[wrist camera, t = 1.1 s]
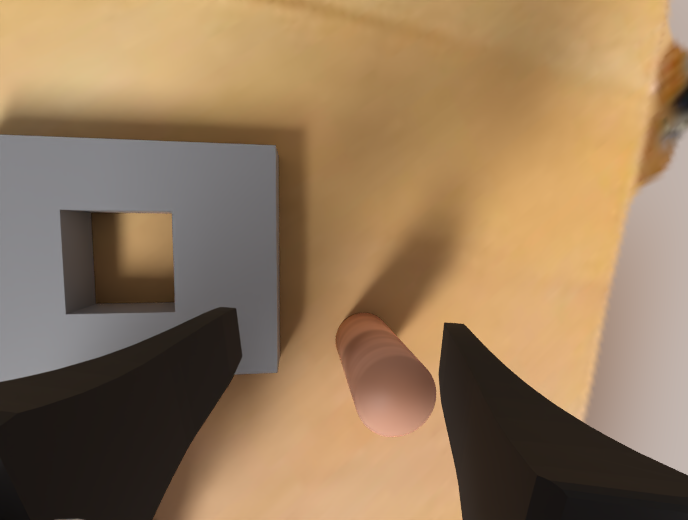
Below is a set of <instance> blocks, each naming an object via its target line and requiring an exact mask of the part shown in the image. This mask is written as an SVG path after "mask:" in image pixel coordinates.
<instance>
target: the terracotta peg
mask: <svg viewBox="0 0 688 520" xmlns="http://www.w3.org/2000/svg"><path fill="white" fill-rule="evenodd" d="M336 347H337V350H338V353H339V356H340V360H341V363H342V366H343V369H344V372H345V375H346V378H347V382H348V385H349V388H350V391H351V394H352V397H353V400H354V404H355V407H356V410H357V413H358V415H359V417H360V419H361V421H362V422H363V424H364V425H365V426H366V427H367V428H369V429H370V430H371V431H373V432H375V433H377V434H379V435H382V436H387V437H399V436H403V435H407V434H409V433H411V432H413V431H415V430H417V429H418V428H419V427H421V426H422V425H423V424H424V423H425V422H426V420H427V419H428V418H429V416H430V415H431V413H432V411H433V408H434V405H435V401H436V387H435V383H434V380H433V378H432V375H431V374H430V372H429V371H428V370H427V369H426V367H425V366H424V365H423V364H422V363H421V362H420V361H419V360H418V359H417V358H416V357H415V356H414V354H413V353H412V352H411V351H410V350H409V349H408V348H407V347H406V346H405V345H404V344H403V342H402V341H401V340H400V339H399V338H398V337H397V336H396V335H395V334H394V333H393V332H392V331H391V329H390V328H389V327H388V326H387V325H386V324H385V323H384V322H383V321H382V320H381V319H380V318H379V317H377V316H375V315H373V314H370V313H357V314H354V315H352V316H350V317H348V318H347V319H346V320H344V321H343V323H342V324H341V325H340V327H339V329H338V331H337V334H336Z"/></svg>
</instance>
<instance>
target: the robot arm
mask: <svg viewBox="0 0 688 520" xmlns="http://www.w3.org/2000/svg"><path fill="white" fill-rule="evenodd" d="M241 359H242V349H241V341H240V333H239V325H238V318H237V310H236V308H229V307H218V308H215V309H213V310H210V311H208V312H205V313H203V314H201V315H199V316H197V317H195V318H192V319H190V320H188V321H186V322H184V323H182V324H180V325H177V326H175V327H173V328H171V329H169V330H167V331H164V332H162V333H160V334H157V335H155V336H153V337H151V338H148V339H146V340H144V341H141V342H139V343H137V344H134V345H132V346H129V347H126V348H124V349H121V350H118V351H115V352H113V353H110V354H107V355H104V356H101V357H98V358H95V359H91V360H88V361H84V362H81V363H78V364H74V365H71V366H67V367H64V368H60V369H56V370H52V371H48V372H44V373H40V374H36V375H31V376H27V377H22V378H17V379H13V380H7V381H2V382H0V520H152V519H153V517H154V515H155V512H156V510H157V508H158V506H159V504H160V502H161V500H162V498H163V496H164V494H165V492H166V490H167V488H168V486H169V484H170V482H171V480H172V477H173V476H174V474H175V472H176V470H177V468H178V466H179V464H180V462H181V460H182V458H183V456H184V455H185V453H186V451H187V449H188V447H189V445H190V444H191V442H192V440H193V439H194V437H195V435H196V434H197V432H198V431H199V429H200V428H201V426H202V425H203V423H204V422H205V420H206V419H207V417H208V416H209V414H210V413H211V411H212V410H213V408H214V407H215V405H216V404H217V402H218V401H219V399H220V397H221V396H222V394H223V393H224V391H225V390H226V388H227V387H228V385H229V383H230V382H231V380H232V378H233V376H234V374H235V372H236V370H237V368H238V365H239V363H240V361H241ZM439 385H440V396H441V404H442V409H443V413H444V418H445V423H446V427H447V432H448V436H449V441H450V445H451V450H452V454H453V459H454V463H455V468H456V473H457V479H458V485H459V493H460V501H461V510H462V518H463V520H688V475H686V474H684V473H681V472H679V471H677V470H675V469H673V468H671V467H668V466H666V465H664V464H662V463H660V462H658V461H656V460H653V459H651V458H649V457H647V456H645V455H642V454H640V453H638V452H636V451H634V450H632V449H631V448H629V447H627V446H625V445H623V444H621V443H619V442H617V441H615V440H614V439H612V438H610V437H608V436H606V435H604V434H602V433H601V432H599V431H597V430H595V429H594V428H592V427H590V426H588V425H587V424H585V423H583V422H582V421H580V420H579V419H577V418H575V417H574V416H572V415H571V414H569V413H567V412H566V411H564V410H563V409H561V408H560V407H558V406H557V405H555V404H554V403H552V402H551V401H549V400H548V399H547V398H545V397H544V396H542V395H541V394H540V393H538V392H537V391H536V390H534V389H533V388H532V387H530V386H529V385H528V384H526V383H525V382H524V381H523V380H521V379H520V378H519V377H518V376H517V375H516V374H514V373H513V372H512V371H511V370H510V369H509V368H507V367H506V366H505V365H504V364H503V363H502V362H501V361H500V360H499V359H498V358H497V357H496V356H495V355H493V354H492V353H491V352H490V351H489V350H488V349H487V348H486V347H485V346H484V345H483V344H482V342H481V341H480V340H479V339H478V338H477V337H476V336H475V335H474V334H473V333H472V332H471V331H470V330H469V329H468V328H467V327H466V326H465V325H464V324H457V323H444V330H443V339H442V348H441V357H440V366H439Z"/></svg>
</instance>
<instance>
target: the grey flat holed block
mask: <svg viewBox="0 0 688 520" xmlns="http://www.w3.org/2000/svg"><path fill="white" fill-rule="evenodd" d="M91 212H100V213H171V214H172V229H173V260H174V291H175V302H165V303H105V304H96V299H95V280H94V260H93V241H92V221H91ZM218 307H229V308H236V310H237V318H238V325H239V333H240V341H241V349H242V359H241V361H240V363H239V365H238V368H237V370H236V372H235V374H258V373H277V372H278V366H279V359H280V280H279V155H278V152H277V148H276V145H254V144H228V143H203V142H177V141H151V140H126V139H100V138H74V137H49V136H23V135H0V382H2V381H7V380H13V379H17V378H22V377H27V376H31V375H36V374H40V373H44V372H48V371H52V370H56V369H60V368H64V367H67V366H71V365H74V364H78V363H81V362H84V361H88V360H91V359H95V358H98V357H101V356H104V355H107V354H110V353H113V352H115V351H118V350H121V349H124V348H126V347H129V346H132V345H134V344H137V343H139V342H141V341H144V340H146V339H148V338H151V337H153V336H155V335H157V334H160V333H162V332H164V331H167V330H169V329H171V328H173V327H175V326H177V325H180V324H182V323H184V322H186V321H188V320H190V319H192V318H195V317H197V316H199V315H201V314H203V313H205V312H208V311H210V310H213V309H215V308H218Z"/></svg>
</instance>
